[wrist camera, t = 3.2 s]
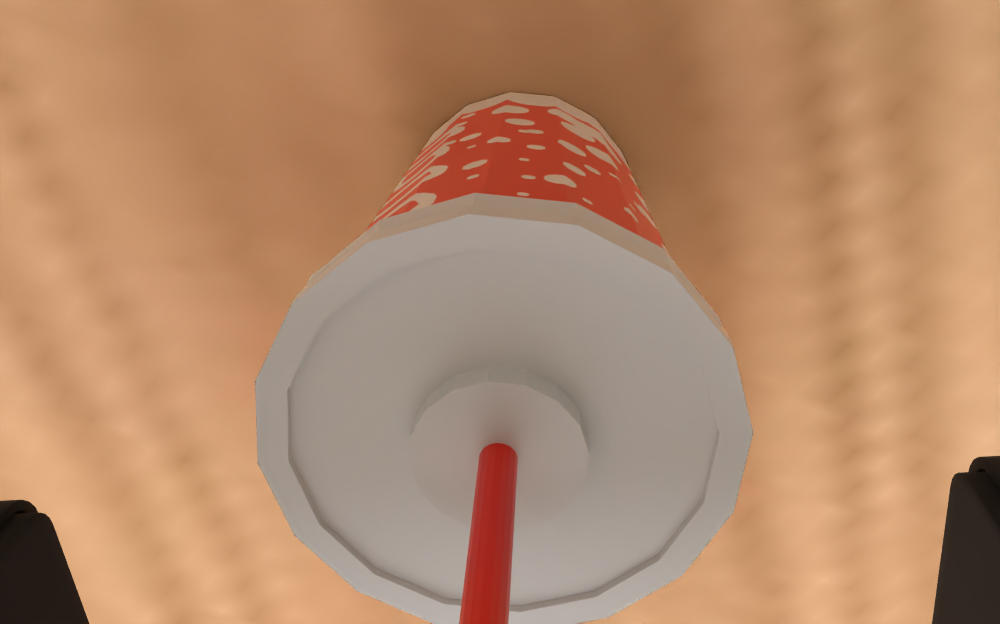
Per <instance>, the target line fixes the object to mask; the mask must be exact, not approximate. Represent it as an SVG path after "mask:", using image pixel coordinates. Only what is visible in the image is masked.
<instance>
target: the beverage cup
mask: <svg viewBox="0 0 1000 624" xmlns="http://www.w3.org/2000/svg"><path fill="white" fill-rule="evenodd" d="M255 394H256V424H257V454H258V465H259V467H260V469H261V471H262V472H263V474H264V476H265V478H266V480H267V482H268V484H269V486H270V488H271V490H272V492H273V494H274V496H275V498H276V500H277V502H278V504H279V506H280V508H281V510H282V512H283V514H284V516H285V518H286V520H287V522H288V524H289V526H290V527H291V529H292V531H293V533H294V535H295V536H296V537H297V538H298V539H299V540H300V541H301V542H302V543H303V544H305V545H306V546H307V547H308V548H309V549H310V550H311V551H312V552H314V553H315V554H316V555H317V556H318V557H319V558H320V559H322V560H323V561H324V562H325V563H326V564H327V565H328V566H329V567H331V568H332V569H333V570H334V571H335V572H336V573H337V574H338V575H340V576H341V577H342V578H343V579H344V580H345V581H346V582H348V583H349V584H350V585H351V586H352V587H353V588H354V589H355V590H357V591H358V592H360V593H363V594H365V595H367V596H370V597H372V598H374V599H377V600H379V601H381V602H384V603H386V604H389V605H391V606H393V607H396V608H398V609H400V610H403V611H405V612H407V613H410V614H412V615H415V616H417V617H419V618H422V619H424V620H426V621H429V622H431V623H433V624H577V623H582V622H587V621H593V620H598V619H603V618H608V617H610V616H612V615H614V614H615V613H617V612H619V611H621V610H622V609H624V608H626V607H628V606H629V605H631V604H633V603H635V602H637V601H638V600H640V599H642V598H644V597H645V596H647V595H649V594H651V593H652V592H654V591H656V590H658V589H659V588H661V587H663V586H665V585H666V584H668V583H670V582H672V581H674V580H675V579H677V578H679V577H681V576H682V575H683V574H684V573H685V571H686V570H687V569H688V568H689V566H690V565H691V564H692V563H693V561H694V560H695V559H696V558H697V556H698V555H699V554H700V553H701V552H702V550H703V549H704V548H705V547H706V545H707V544H708V543H709V542H710V540H711V539H712V538H713V537H714V536H715V534H716V533H717V532H718V531H719V529H720V528H721V527H722V526H723V524H724V523H725V522H726V521H727V519H728V518H729V517H730V516H731V515H732V513H733V512H734V508H735V504H736V500H737V496H738V492H739V488H740V484H741V480H742V476H743V472H744V468H745V464H746V460H747V456H748V452H749V448H750V444H751V440H752V436H753V429H752V425H751V421H750V417H749V412H748V408H747V404H746V400H745V395H744V391H743V387H742V382H741V378H740V374H739V370H738V365H737V361H736V357H735V353H734V348H733V345H732V343H731V340H730V337H729V336H728V335H727V333H726V332H725V331H724V330H723V328H722V324H721V320H720V318H719V316H718V315H717V314H716V313H715V311H714V310H713V309H712V308H711V306H710V305H709V304H708V303H707V302H706V300H705V299H704V298H703V297H702V295H701V294H700V293H699V292H698V290H697V289H696V288H695V287H694V286H693V284H692V283H691V282H690V281H689V279H688V278H687V277H686V276H685V275H684V273H683V272H682V271H681V270H680V268H679V267H678V266H677V265H676V263H675V262H674V261H673V260H672V259H671V257H670V256H669V254H668V252H667V250H666V247H665V245H664V243H663V241H662V239H661V236H660V234H659V232H658V230H657V228H656V226H655V223H654V221H653V219H652V217H651V215H650V212H649V210H648V208H647V206H646V204H645V201H644V199H643V197H642V195H641V193H640V191H639V188H638V186H637V184H636V182H635V180H634V177H633V175H632V173H631V171H630V169H629V167H628V164H627V162H626V160H625V158H624V156H623V153H622V151H621V150H620V149H619V148H618V146H617V145H616V144H615V143H614V141H613V140H612V139H611V138H610V136H609V135H608V134H607V133H606V131H605V130H604V129H603V128H602V126H601V125H600V124H599V123H598V121H597V120H596V119H595V118H594V117H592V116H590V115H588V114H587V113H585V112H583V111H581V110H579V109H577V108H575V107H574V106H572V105H570V104H568V103H566V102H564V101H562V100H561V99H559V98H557V97H554V96H544V95H534V94H524V93H514V92H509V93H505V94H502V95H499V96H495V97H492V98H489V99H486V100H482V101H479V102H476V103H472V104H469V105H467V106H465V107H464V108H463V109H462V110H461V111H459V112H458V113H457V114H456V115H455V116H453V117H452V118H451V119H450V120H449V121H447V122H446V123H445V124H444V125H443V126H441V127H440V128H439V129H438V130H437V131H435V132H434V133H433V135H432V136H431V138H430V139H429V140H428V142H427V143H426V145H425V146H424V148H423V149H422V151H421V152H420V153H419V155H418V156H417V158H416V159H415V161H414V162H413V164H412V165H411V166H410V168H409V169H408V171H407V172H406V174H405V175H404V177H403V178H402V179H401V181H400V182H399V184H398V185H397V187H396V188H395V190H394V191H393V192H392V194H391V195H390V197H389V198H388V200H387V201H386V203H385V204H384V205H383V207H382V208H381V210H380V211H379V213H378V214H377V216H376V217H375V218H374V220H373V221H372V223H371V224H370V226H369V227H368V229H367V230H366V231H365V232H364V233H363V234H362V235H361V236H359V237H358V238H357V239H356V240H354V241H353V242H352V243H351V244H349V245H348V246H347V247H346V248H345V249H343V250H342V251H341V252H340V253H338V254H337V255H336V256H335V257H334V258H332V259H331V260H330V261H329V262H327V263H326V264H325V265H324V266H322V267H321V268H320V269H319V270H318V271H316V272H315V273H314V274H313V275H311V276H310V278H309V280H308V282H307V284H306V286H305V288H303V289H302V290H301V291H300V292H298V294H297V295H296V297H295V299H294V301H293V302H292V304H291V306H290V308H289V311H288V313H287V315H286V317H285V319H284V321H283V323H282V325H281V328H280V330H279V332H278V334H277V336H276V338H275V340H274V343H273V345H272V347H271V349H270V351H269V353H268V355H267V357H266V360H265V362H264V364H263V366H262V368H261V370H260V372H259V374H258V377H257V379H256V381H255Z"/></svg>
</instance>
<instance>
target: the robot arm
mask: <svg viewBox="0 0 1000 624" xmlns="http://www.w3.org/2000/svg"><path fill="white" fill-rule="evenodd" d="M0 624H89V622H88V619H87V616H86V613H85V611H84V608H83V605H82V602H81V600H80V597H79V594H78V592H77V589H76V586H75V583H74V581H73V578H72V575H71V572H70V570H69V567H68V564H67V561H66V559H65V556H64V553H63V550H62V548H61V545H60V542H59V540H58V537H57V534H56V531H55V529H54V526H53V523H52V522H51V520H50V518H49V517H48V516H47V515H46V514H43V513H38V511H37V509H36V508H35V506H33V505H32V504H31V503H30V502H28V501H24V500H9V501H0ZM932 624H1000V456H989V457H978V458H976V459H974V460H973V462H972V463H971V465H970V468H969V472H965V473H957V474H955V475H954V477H953V479H952V482H951V487H950V494H949V502H948V509H947V517H946V524H945V531H944V539H943V546H942V554H941V561H940V569H939V576H938V584H937V591H936V598H935V606H934V613H933V621H932Z"/></svg>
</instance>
